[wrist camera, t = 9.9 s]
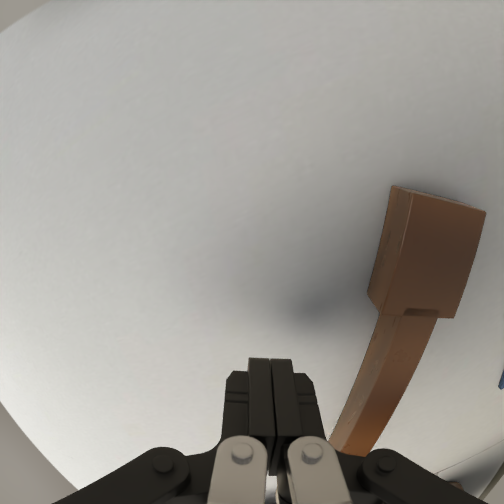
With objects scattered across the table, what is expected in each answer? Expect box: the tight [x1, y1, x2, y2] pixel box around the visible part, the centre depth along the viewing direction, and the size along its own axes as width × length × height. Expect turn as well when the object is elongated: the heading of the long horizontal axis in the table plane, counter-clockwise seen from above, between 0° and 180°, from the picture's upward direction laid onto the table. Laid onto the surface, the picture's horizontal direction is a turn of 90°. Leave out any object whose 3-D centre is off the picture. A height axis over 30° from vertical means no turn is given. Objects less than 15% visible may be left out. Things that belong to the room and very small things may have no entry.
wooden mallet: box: [328, 186, 486, 457], centre depth 14 cm, size 16×4×2 cm, turn 173°
